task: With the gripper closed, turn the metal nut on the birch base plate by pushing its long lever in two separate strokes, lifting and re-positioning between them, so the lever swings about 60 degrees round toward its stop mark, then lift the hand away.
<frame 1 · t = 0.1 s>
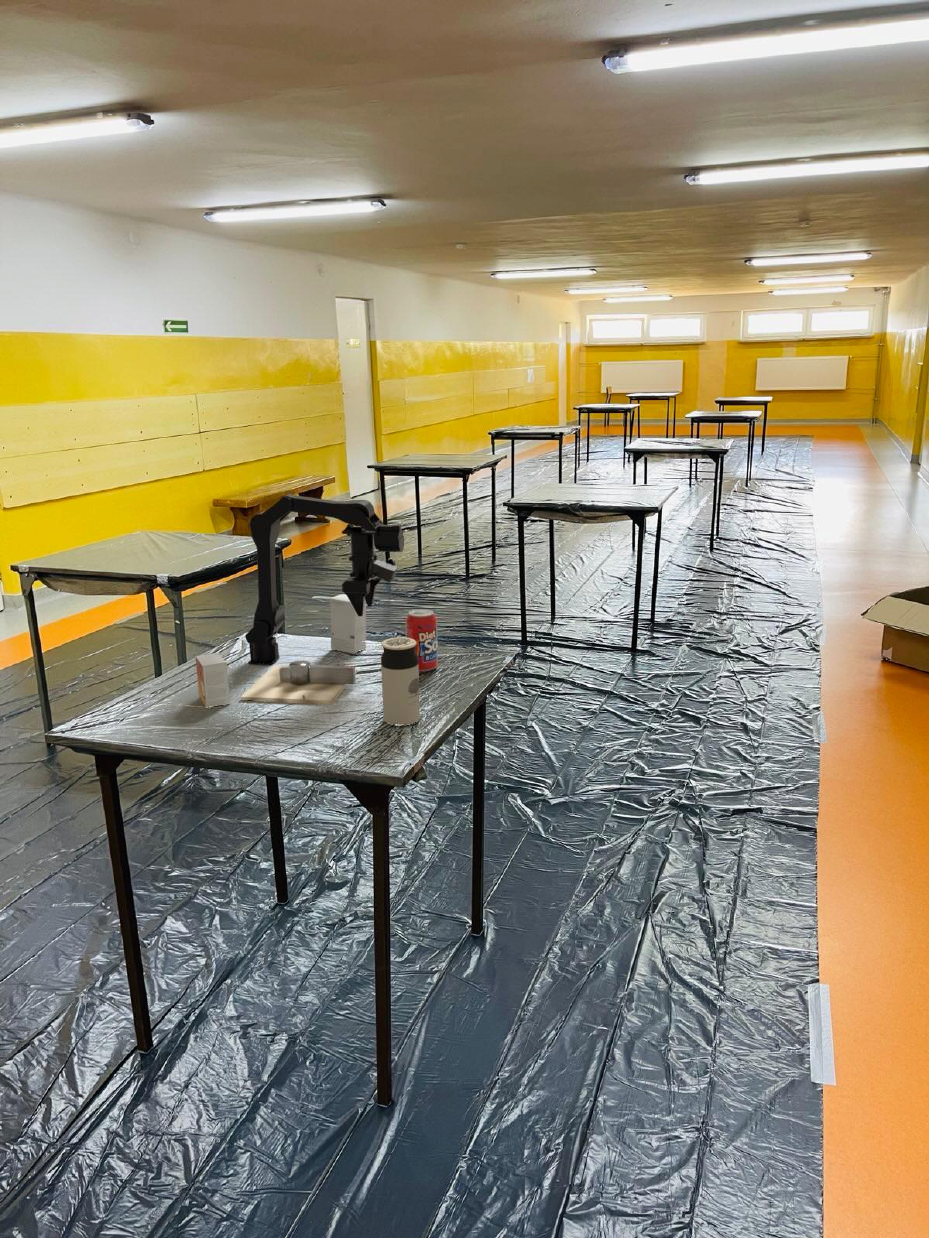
hand: (365, 611, 223), 15 cm above the table, tool pointing down, fingers open, 9 cm apart
skincare box: (349, 650, 240), on the table
travel mug: (401, 721, 192), on the table
base plate: (301, 685, 213), on the table
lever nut: (317, 673, 211), point 4 cm above the table, hinge at 0.0°
small box: (214, 702, 204), on the table
soda can: (422, 669, 224), on the table
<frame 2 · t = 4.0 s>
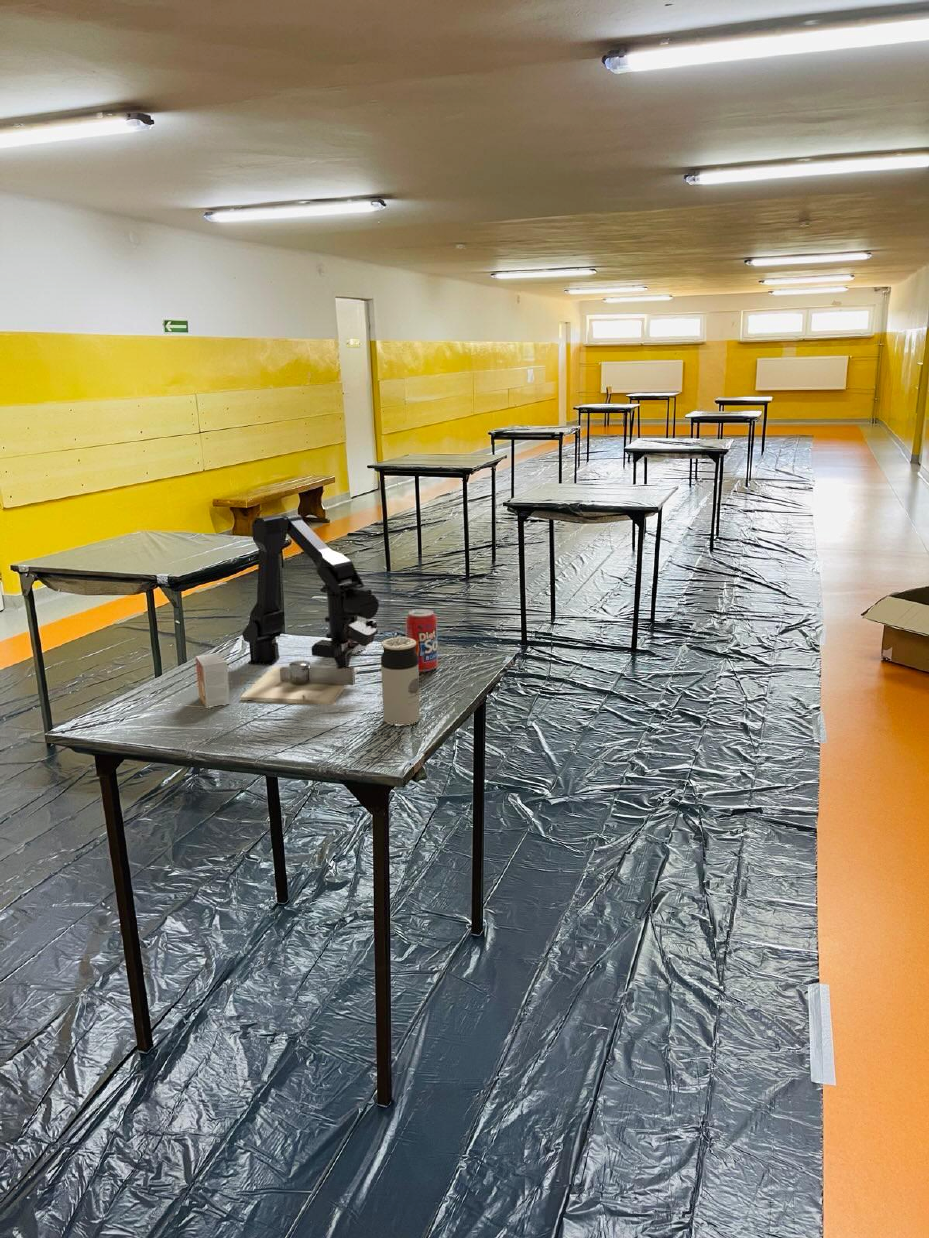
hand: (344, 673, 212), 3 cm above the table, tool pointing down, fingers closed
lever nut: (317, 673, 211), point 4 cm above the table, hinge at 2.7°, touching gripper
everything else where it was.
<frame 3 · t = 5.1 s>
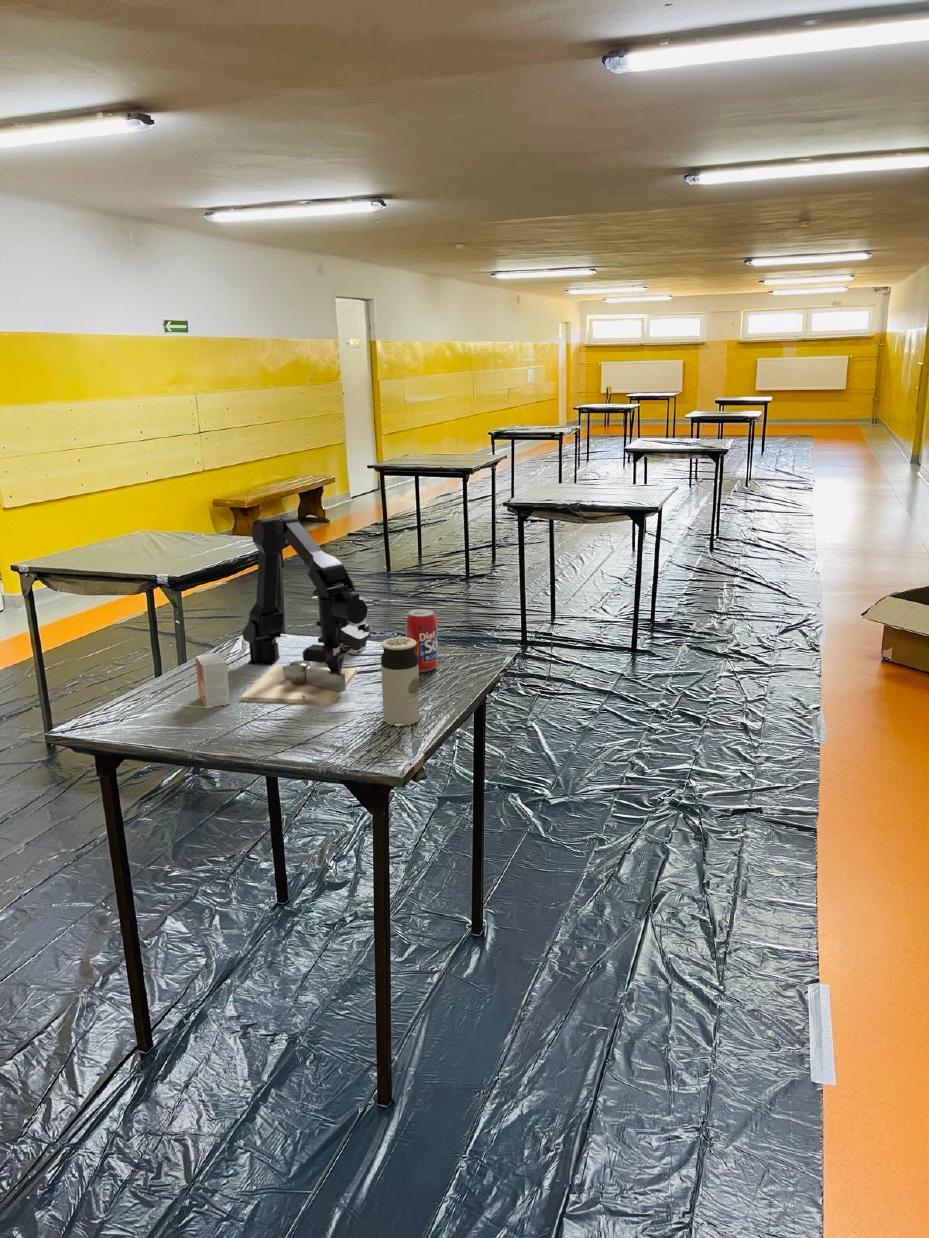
hand: (337, 678, 209), 3 cm above the table, tool pointing down, fingers closed
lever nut: (313, 675, 210), point 4 cm above the table, hinge at 24.4°, touching gripper
everything else where it was.
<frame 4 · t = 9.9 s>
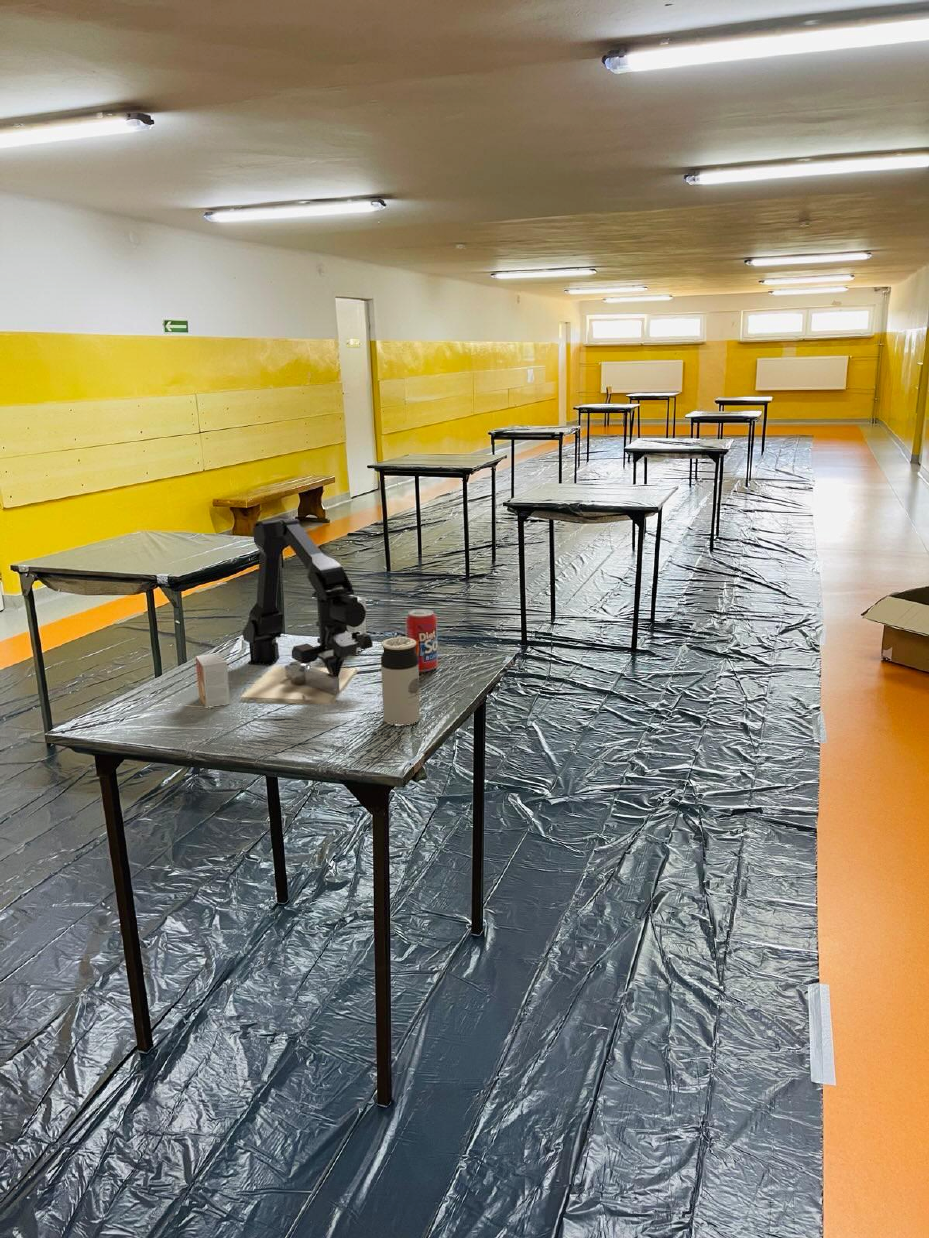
hand: (335, 681, 207), 3 cm above the table, tool pointing down, fingers closed
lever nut: (311, 676, 209), point 4 cm above the table, hinge at 33.4°, touching gripper
everything else where it was.
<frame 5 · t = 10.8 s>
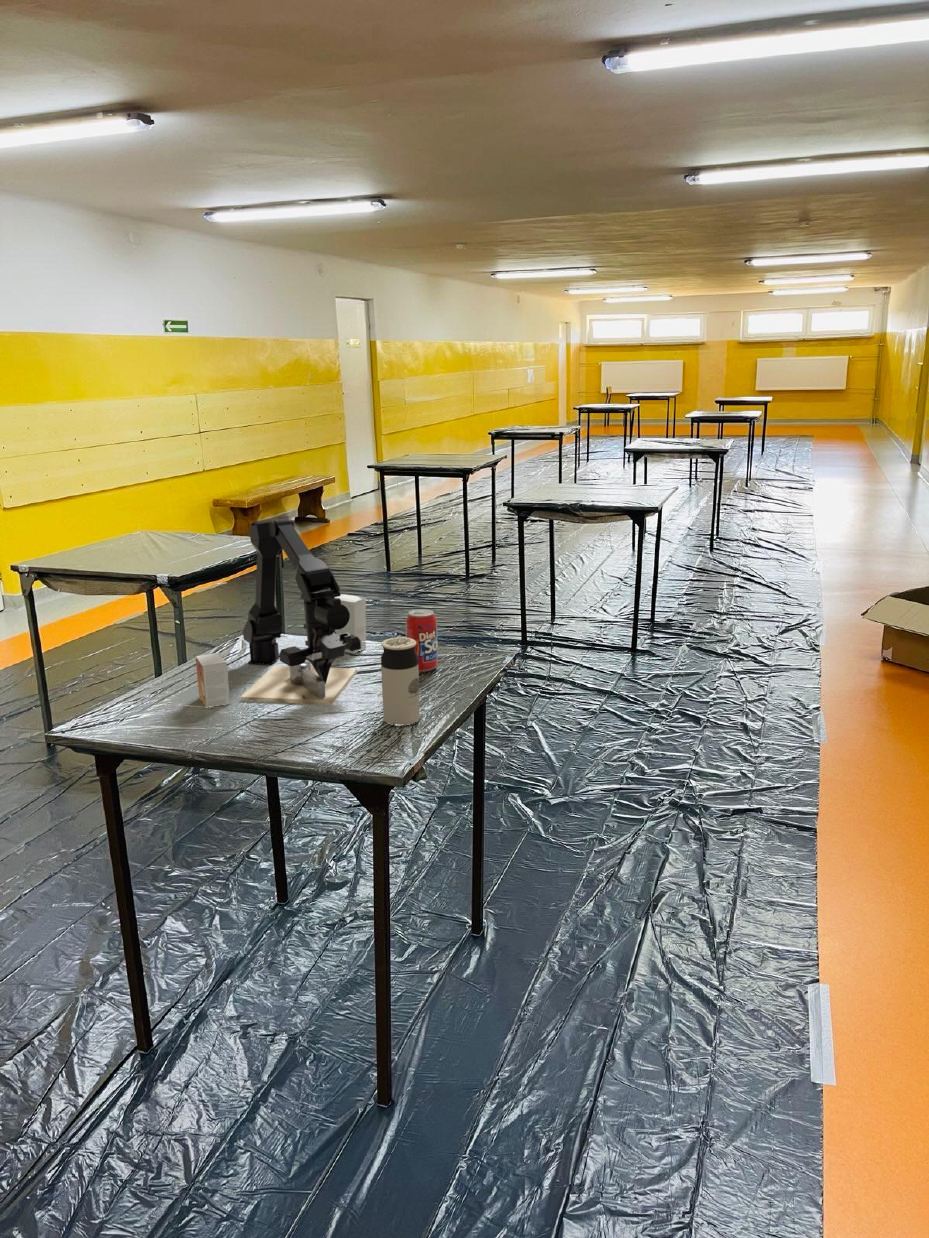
hand: (324, 683, 205), 3 cm above the table, tool pointing down, fingers closed
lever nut: (306, 677, 208), point 4 cm above the table, hinge at 50.4°, touching gripper
everything else where it was.
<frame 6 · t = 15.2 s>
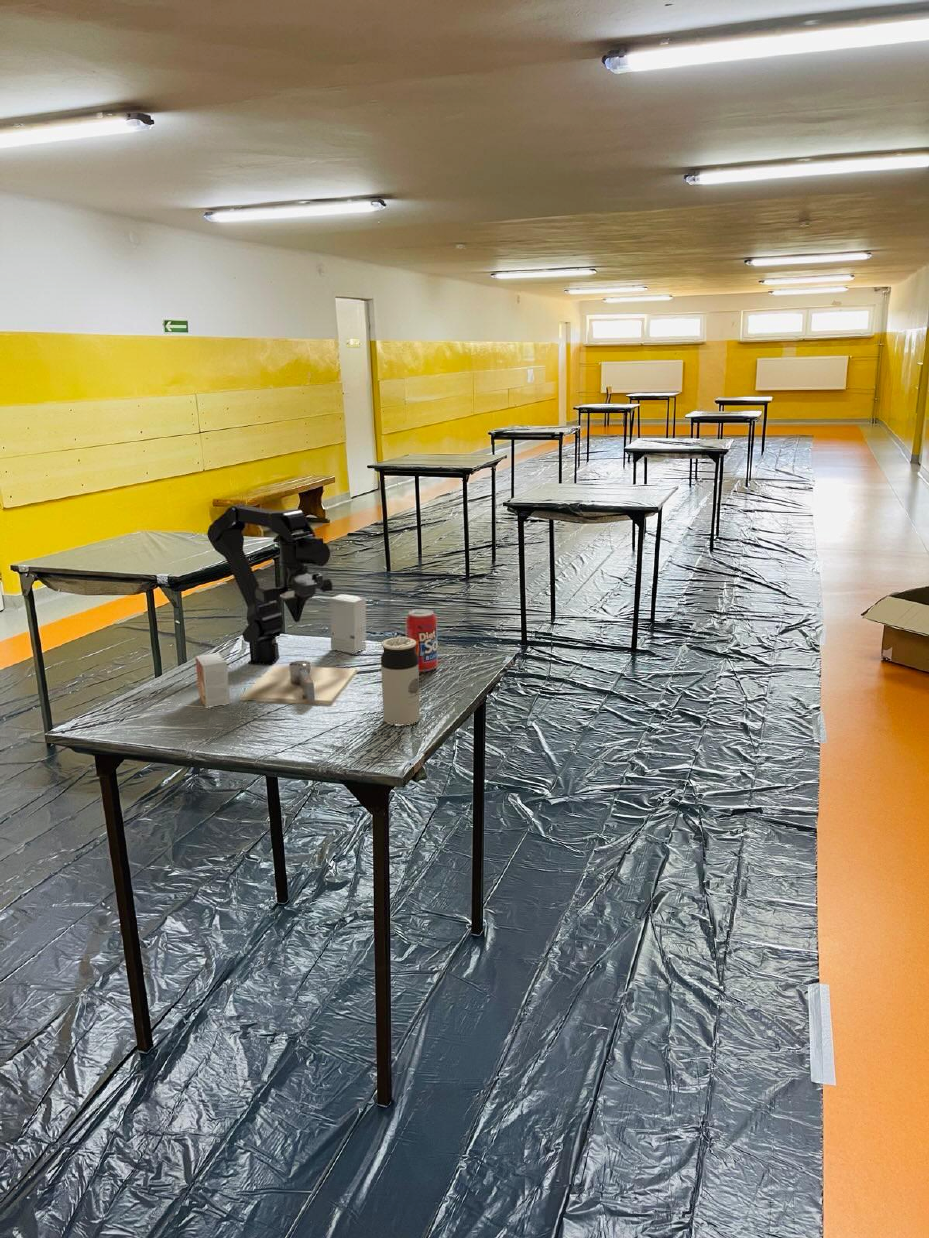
hand: (296, 621, 220), 13 cm above the table, tool pointing down, fingers closed
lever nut: (303, 678, 208), point 4 cm above the table, hinge at 61.4°
everything else where it was.
at the end: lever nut at +61° (first picture: +0°); the gripper is holding nothing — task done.
